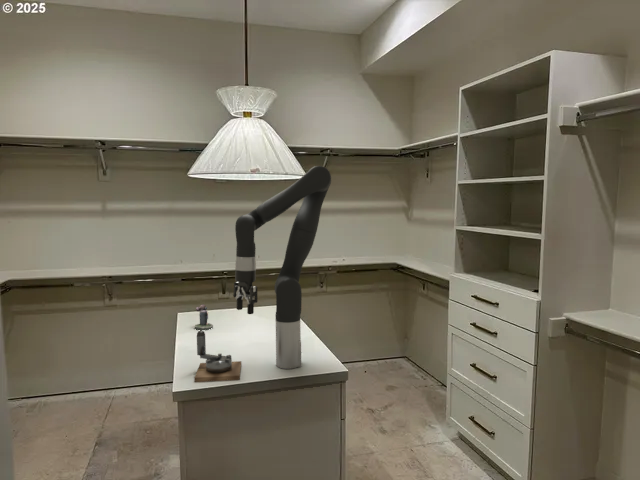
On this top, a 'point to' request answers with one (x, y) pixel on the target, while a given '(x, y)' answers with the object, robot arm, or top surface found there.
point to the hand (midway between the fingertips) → (244, 311)
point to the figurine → (203, 319)
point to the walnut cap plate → (228, 375)
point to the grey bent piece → (212, 357)
